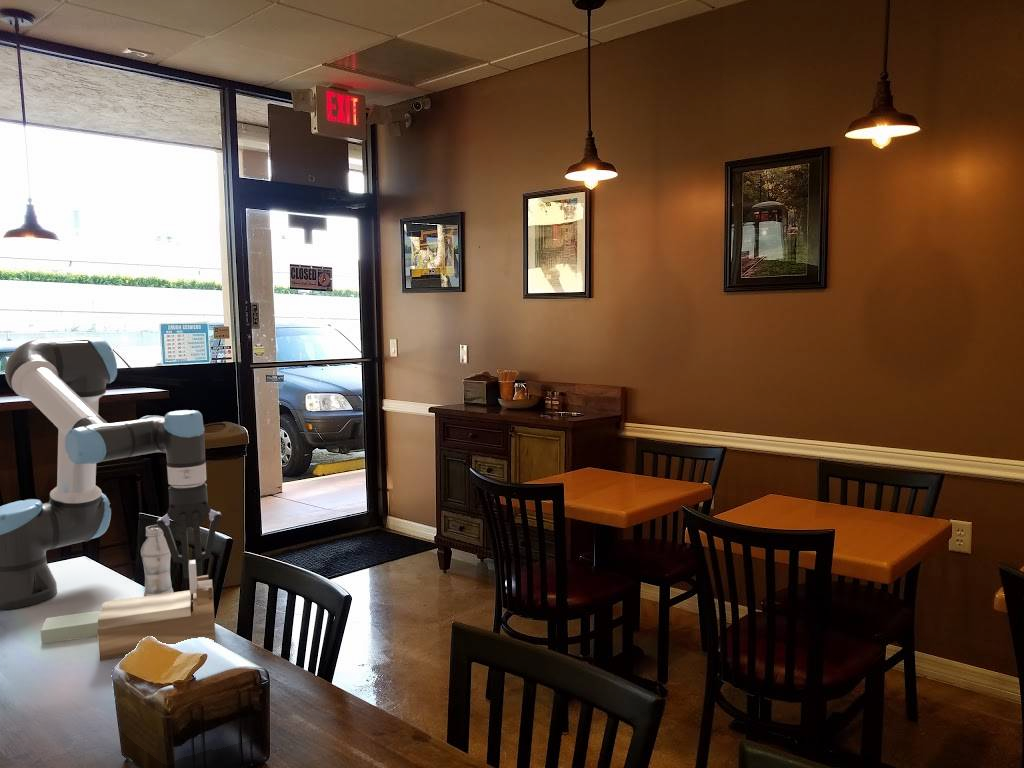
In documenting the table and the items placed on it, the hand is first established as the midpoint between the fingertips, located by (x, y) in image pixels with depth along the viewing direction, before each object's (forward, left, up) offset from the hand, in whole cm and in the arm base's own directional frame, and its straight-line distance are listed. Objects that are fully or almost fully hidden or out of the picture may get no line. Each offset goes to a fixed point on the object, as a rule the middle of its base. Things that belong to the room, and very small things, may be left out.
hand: (193, 591), depth 167 cm
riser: (-13, -24, -10) cm, 29 cm away
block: (0, +2, -1) cm, 3 cm away
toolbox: (0, -7, -10) cm, 13 cm away
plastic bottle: (-20, -8, -11) cm, 24 cm away
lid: (0, -9, -3) cm, 10 cm away
